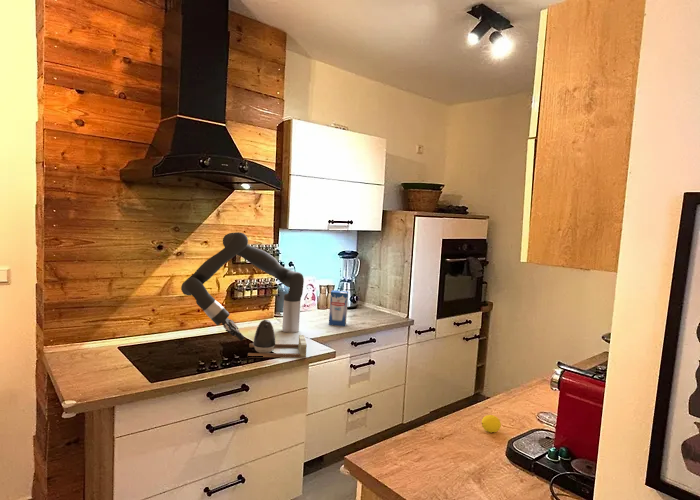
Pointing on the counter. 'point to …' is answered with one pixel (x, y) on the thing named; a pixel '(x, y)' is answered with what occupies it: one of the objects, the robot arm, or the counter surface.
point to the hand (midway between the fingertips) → (242, 339)
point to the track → (301, 346)
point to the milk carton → (338, 308)
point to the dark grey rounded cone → (264, 337)
